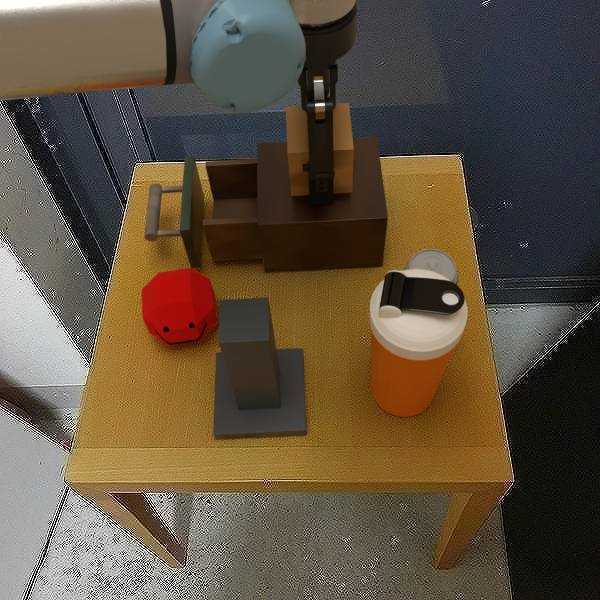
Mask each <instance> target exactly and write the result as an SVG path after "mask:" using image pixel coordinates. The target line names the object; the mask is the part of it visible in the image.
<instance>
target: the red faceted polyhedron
mask: <svg viewBox="0 0 600 600" xmlns="http://www.w3.org/2000/svg"><path fill="white" fill-rule="evenodd" d="M216 302H217V301H216V294H215V290H214V287H213V283H212V280H211V278H210V277H208V276H206V275H204V274H203V273H201V272H199V271H198V270H196V269H193V268H191V267H185V268H179V269H178V268H177V269H172V270H165V271H158V272H157V273H156V275H154V276H153V277H152V278H151V279H150V280H149V282H148V283H147V284H145V286H144V287H143V288H141V313H142V314H141V316H142V320H143V322H144V324H145V327H146V329H147V331H148V334H150V335H152V337H154V338H156V339H157V340H159V341H160V342H162V343H163V344H165V345H166V346H168V347H170V346H171V347H172V346H174V345H182V344H188V343H194V342H202V341H203V340H204V339H205V338H206V337H207V336H208V335H209V333H210V332H211V331H212V330H213V329H214V327H216V326H217V325H218V324H219V319H218V311H217V310H218V309H217V303H216Z"/></svg>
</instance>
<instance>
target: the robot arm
mask: <svg viewBox="0 0 600 600" xmlns="http://www.w3.org/2000/svg"><path fill="white" fill-rule="evenodd" d="M356 2H357V0H0V102H2V101H13V100H23V99H33V98H44V97H54V96H64V95H75V94H76V95H77V94H85V93H96V92H97V93H98V92H106V91H116V90H117V91H118V90H127V89H138V88H139V89H140V88H147V87H149V88H150V87H158V86H159V87H160V86H170V85H171V86H172V85H186V84H195V87H196V88H197V89H198V90H199V91H200V92H201V93H202V95H203V96H204V98H205V99H206V100H207V101H208V102H209V103H210V104H212V105H213V106H215V107H217V108H220V109H221V108H222V109H224V110H228V111H231V112H232V113H238V114H239V113H240V114H242V113H243V114H244V113H245V114H247V113H254V112H257V111H260V110H263V109H265V108H267V107H270V106H272V105H274V104H276V103H277V102H279V101H280V100H282V99H283V98H284V97H285V96H286V95H287V94H288V93H289V92H290V91H291V90H292V89H293V88H294V86H295V85H296V84H298V85H299V87H300V103H301V104H300V106H302V109H303V111H305V112H306V113H307V126H308V146H309V161H308V163H307V164H302V168H303V172H308V176H309V196H310V206H312V205H330V204H333V179H334V176H335V171H334V156H333V110H334V109H335V107H336V104H337V90H336V89H337V87H336V85H337V84H338V82H339V66H338V63H337V61H338V59H341V58H342V57H344V56H345V55H347V53H349V52H350V50H351V49H352V48H353V46H354V44H355V42H356V39H357V14H358V13H357V9H358V8H357V3H356Z"/></svg>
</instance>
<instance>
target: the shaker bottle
mask: <svg viewBox="0 0 600 600" xmlns="http://www.w3.org/2000/svg"><path fill="white" fill-rule="evenodd" d="M465 297H466V296H465V294H464V291H463V289H461V287H460V286H459V285H458V284H457V285H456V284H455V283H454V282H451V281H450V280H449V279H447V278H446V277H444V276H443V275H440V274H438V273H436V272H433V271H429V270H425V269H408V270H404V269H402V270H398V269H396V270H395V269H394V270H389V271H387V272H386V273H385V275H384V279H382V280H381V282H380V283H379V284H378V285H377V286H376V288H375V289H374V291H373V292H372V295H371V298H370V301H369V309H368V323H369V328H370V334H371V335H370V387H371V388H370V389H371V395H372V397H373V399H374V401H375V403H376V404H377V405H378V406H379V407H380V409H382V410H383V411H384V412H386V413H387V414H390V415H391V416H396V417H399V418H400V417H402V418H410V417H413V416H417V415H419V414H421V413H424V411H425V410H427V409H428V407H429V406H430V405H431V404H432V402H433V400H434V397H435V395H436V393H437V391H438V388H439V385H440V383H441V381H442V378H443V377H444V374H445V371H446V369H447V367H448V364H449V362H450V359H451V357H452V355H453V352H454V350H455V348H456V346H457V345H458V344H459V343H460V341H461V339H462V338H463V336H464V333H465V328H466V325H467V320H468V305H467V301H466V298H465Z"/></svg>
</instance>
